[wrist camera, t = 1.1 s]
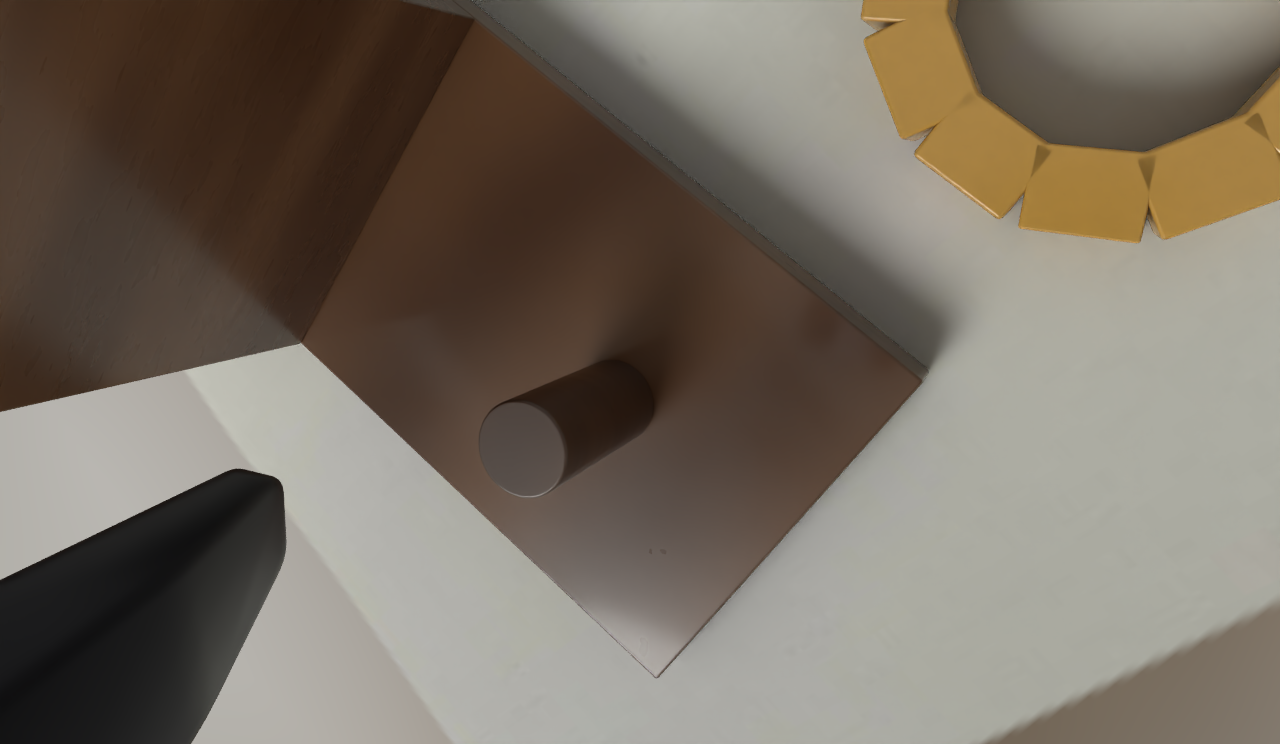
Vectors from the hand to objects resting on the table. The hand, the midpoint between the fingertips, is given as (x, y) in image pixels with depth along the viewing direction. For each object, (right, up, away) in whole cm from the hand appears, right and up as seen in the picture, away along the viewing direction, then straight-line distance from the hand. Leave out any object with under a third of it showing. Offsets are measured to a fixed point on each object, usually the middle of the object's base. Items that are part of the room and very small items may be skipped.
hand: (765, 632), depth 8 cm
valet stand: (-4, +4, +16) cm, 17 cm away
